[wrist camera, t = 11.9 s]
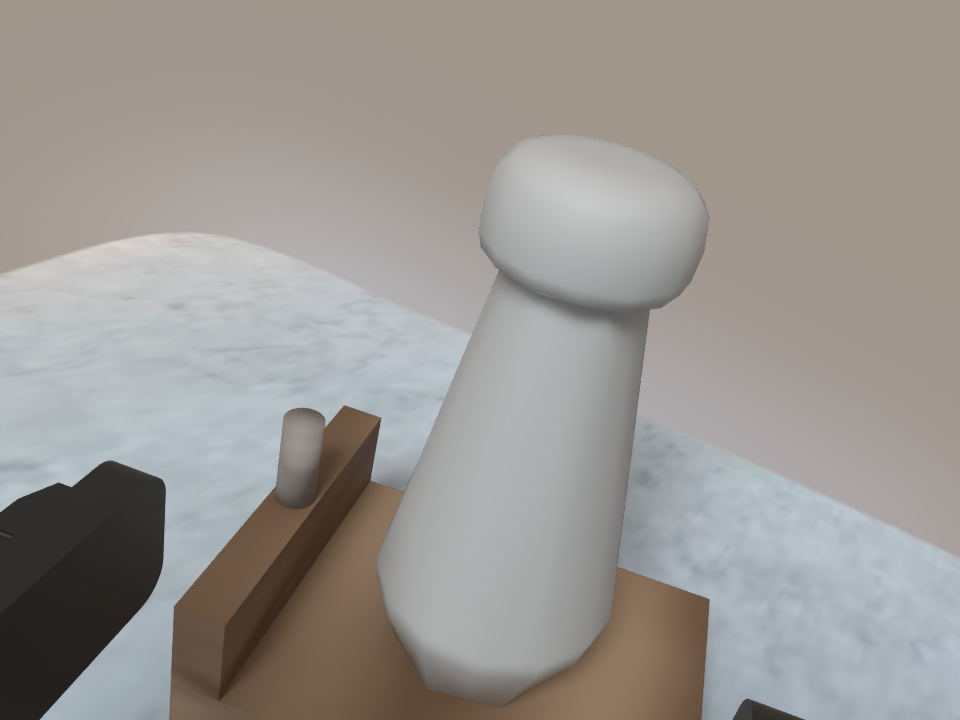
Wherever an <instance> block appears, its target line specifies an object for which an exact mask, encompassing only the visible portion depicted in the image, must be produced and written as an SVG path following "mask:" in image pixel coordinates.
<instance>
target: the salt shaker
mask: <svg viewBox="0 0 960 720" xmlns="http://www.w3.org/2000/svg"><path fill="white" fill-rule="evenodd" d="M708 225H709V214H708V211H707V208H706V204H705V202H704V200H703V198H702V196H701V194H700V193H699V191H698V189H697V187H696V185H695V184H694V182H693V181H692V180H691V179H689V178H688V177H687V176H685V175H684V174H683V173H682V172H680V171H679V170H678V169H676V168H675V167H673V166H671V165H669V164H667V163H665V162H663V161H661V160H658V159H656V158H654V157H652V156H650V155H648V154H646V153H643V152H641V151H639V150H637V149H634V148H630V147H627V146H623V145H620V144H617V143H613V142H610V141H605V140H599V139H595V138H590V137H584V136H554V135H541V136H537V137H534V138H530V139H526V140H522V141H521V142H519V143H518V144H516V145H515V146H513V147H512V148H510V149H509V150H508V151H506V152H504V153H503V155H502V157H501V159H500V161H499V163H498V166H497V168H496V170H495V173H494V175H493V178H492V180H491V183H490V185H489V188H488V190H487V193H486V195H485V198H484V202H483V208H482V214H481V220H480V226H479V236H480V244H481V248H482V249H483V251H484V252H485V253H486V255H487V256H488V257H489V259H490V260H491V262H492V263H493V264H494V266H495V267H496V268H498V269H499V272H498V274H497V276H496V279H495V281H494V283H493V286H492V289H491V291H490V293H489V295H488V298H487V300H486V302H485V305H484V307H483V310H482V312H481V314H480V317H479V319H478V321H477V324H476V326H475V328H474V331H473V333H472V336H471V338H470V340H469V343H468V345H467V347H466V350H465V352H464V354H463V357H462V359H461V362H460V364H459V366H458V369H457V371H456V373H455V376H454V378H453V381H452V383H451V385H450V388H449V390H448V392H447V395H446V397H445V399H444V402H443V404H442V407H441V409H440V411H439V414H438V416H437V418H436V421H435V423H434V426H433V428H432V430H431V433H430V435H429V437H428V440H427V442H426V444H425V447H424V449H423V452H422V454H421V456H420V459H419V461H418V463H417V465H416V467H415V470H414V472H413V474H412V476H411V478H410V481H409V483H408V485H407V487H406V489H405V492H404V494H403V496H402V498H401V500H400V503H399V505H398V507H397V509H396V511H395V514H394V516H393V518H392V520H391V523H390V525H389V527H388V530H387V533H386V536H385V538H384V541H383V544H382V547H381V550H380V552H379V555H378V558H377V580H378V583H379V587H380V590H381V594H382V597H383V601H384V604H385V608H386V611H387V615H388V617H389V619H390V621H391V623H392V627H393V630H394V633H395V635H396V637H397V638H398V640H399V642H400V644H401V645H402V647H403V649H404V650H405V652H406V654H407V655H408V657H409V659H410V661H411V662H412V664H413V666H414V667H415V669H416V671H417V672H418V674H419V676H420V678H421V679H422V681H423V683H424V684H425V686H426V688H427V689H428V690H432V691H436V692H440V693H444V694H447V695H451V696H455V697H459V698H463V699H467V700H471V701H475V702H479V703H483V704H487V705H490V706H494V707H498V708H502V707H503V706H505V705H506V704H507V703H509V702H510V701H512V700H513V699H515V698H516V697H518V696H519V695H520V694H522V693H523V692H525V691H526V690H528V689H530V688H532V687H534V686H535V685H537V684H539V683H541V682H543V681H545V680H546V679H548V678H550V677H552V676H554V675H556V674H557V673H559V672H561V671H563V670H565V669H567V668H568V667H570V666H572V665H574V664H575V663H576V662H577V661H578V660H579V659H580V657H581V656H582V655H583V654H584V653H585V651H586V650H587V649H588V648H589V647H590V645H591V644H592V643H593V642H594V641H595V639H596V638H597V637H598V636H599V635H600V633H601V632H602V630H603V629H604V627H605V626H606V625H607V623H608V622H609V620H610V618H611V610H612V602H613V594H614V586H615V579H616V571H617V563H618V555H619V547H620V539H621V532H622V524H623V516H624V508H625V500H626V492H627V485H628V477H629V469H630V461H631V453H632V445H633V438H634V430H635V422H636V414H637V406H638V398H639V391H640V383H641V375H642V367H643V359H644V351H645V344H646V343H645V342H646V336H647V327H648V320H649V312H650V309H657V308H662V307H663V306H665V305H666V304H668V303H669V302H670V301H672V300H674V299H675V298H677V297H678V296H679V295H680V294H681V293H682V292H683V291H684V290H685V288H686V287H687V286H688V285H689V284H690V282H691V280H692V278H693V276H694V274H695V271H696V269H697V267H698V265H699V262H700V260H701V258H702V256H703V253H704V249H705V243H706V237H707V231H708Z"/></svg>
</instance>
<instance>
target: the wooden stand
mask: <svg viewBox="0 0 960 720" xmlns="http://www.w3.org/2000/svg"><path fill="white" fill-rule="evenodd" d="M380 422H381V418H380V417H377V416H374V415H371V414H368V413H365V412H362V411H360V410H357V409H354V408H351V407H348V406H345V405H344V406H343V407H342V409H341V410H340V411H339V412H338V413H337V415H336V416H335V417H334V418H333V419H332V420H331V422H330V423H329V424H328V425H327V426H326V428H325V418H324V416H323V415H322V414H321V413H319V412H317V411H315V410H312V409H308V408H296V409H292V410H290V411H288V412H287V413H286V414H285V415H284V418H283V427H282V437H281V446H280V455H279V464H278V473H277V482H276V487H275V488H274V489H273V490H272V491H271V493H270V494H269V495H268V496H267V497H266V499H265V500H264V501H263V502H262V503H261V504H260V506H259V507H258V508H257V509H256V510H255V512H254V513H253V514H252V515H251V516H250V517H249V519H248V520H247V521H246V522H245V523H244V525H243V526H242V527H241V528H240V529H239V530H238V532H237V533H236V534H235V535H234V536H233V538H232V539H231V540H230V541H229V542H228V543H227V545H226V546H225V547H224V548H223V549H222V551H221V552H220V553H219V554H218V555H217V556H216V558H215V559H214V560H213V561H212V562H211V564H210V565H209V566H208V567H207V568H206V569H205V571H204V572H203V573H202V574H201V575H200V577H199V578H198V579H197V580H196V581H195V582H194V584H193V585H192V586H191V587H190V588H189V590H188V591H187V592H186V593H185V594H184V595H183V597H182V598H181V599H180V600H179V601H178V603H177V604H176V605H175V606H174V620H173V644H172V668H171V692H170V716H169V720H701V715H702V701H703V686H704V672H705V658H706V644H707V630H708V615H709V601H710V599H707V598H704V597H702V596H699V595H696V594H693V593H690V592H687V591H684V590H682V589H679V588H676V587H673V586H670V585H667V584H664V583H661V582H659V581H656V580H653V579H650V578H647V577H644V576H641V575H639V574H636V573H633V572H630V571H627V570H624V569H621V568H619V567H617V571H616V579H615V586H614V594H613V602H612V610H611V618H610V620H609V622H608V623H607V625H606V626H605V627H604V629H603V630H602V632H601V633H600V635H599V636H598V637H597V638H596V639H595V641H594V642H593V643H592V644H591V645H590V647H589V648H588V649H587V650H586V651H585V653H584V654H583V655H582V656H581V657H580V659H579V660H578V661H577V662H576V663H575V664H574V665H572V666H570V667H568V668H567V669H565V670H563V671H561V672H559V673H557V674H556V675H554V676H552V677H550V678H548V679H546V680H545V681H543V682H541V683H539V684H537V685H535V686H534V687H532V688H530V689H528V690H526V691H525V692H523V693H522V694H520V695H519V696H518V697H516V698H515V699H513V700H512V701H510V702H509V703H507V704H506V705H505V706H503V707H502V708H498V707H494V706H490V705H487V704H483V703H479V702H475V701H471V700H467V699H463V698H459V697H455V696H451V695H447V694H444V693H440V692H436V691H432V690H428V689H427V688H426V686H425V684H424V683H423V681H422V679H421V678H420V676H419V674H418V672H417V671H416V669H415V667H414V666H413V664H412V662H411V661H410V659H409V657H408V655H407V654H406V652H405V650H404V649H403V647H402V645H401V644H400V642H399V640H398V638H397V637H396V635H395V633H394V630H393V627H392V623H391V621H390V619H389V617H388V615H387V611H386V608H385V604H384V601H383V597H382V594H381V590H380V587H379V583H378V580H377V558H378V555H379V552H380V550H381V547H382V544H383V541H384V538H385V536H386V533H387V530H388V527H389V525H390V523H391V520H392V518H393V516H394V514H395V511H396V509H397V507H398V505H399V503H400V500H401V498H402V496H403V494H404V492H401V491H398V490H395V489H392V488H389V487H386V486H384V485H381V484H378V483H375V482H372V481H370V479H371V473H372V468H373V462H374V456H375V451H376V445H377V439H378V434H379V428H380ZM324 428H325V429H324Z"/></svg>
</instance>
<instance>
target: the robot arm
mask: <svg viewBox="0 0 960 720" xmlns="http://www.w3.org/2000/svg"><path fill="white" fill-rule="evenodd" d="M165 498H166V488H165V484H164V482H163V480H162V479H160V478H158V477H155V476H153V475H150V474H147V473H144V472H142V471H139V470H136V469H134V468H131V467H128V466H126V465H123V464H120V463H117V462H115V461H106V462H104V463H102V464H100V465H99V466H97V467H96V468H95V469H94V470H92V471H91V472H90V473H89V474H88V475H86V476H85V477H84V478H83V479H81V480H80V481H79V482H78V483H77V484H75V485H74V486H73V487H69V486H67V485H64V484H61V483H57V484H54V485H52V486H49V487H47V488H44V489H42V490H39V491H37V492H34V493H32V494H29V495H27V496H24V497H22V498H19V499H17V500H16V501H15V502H13V503H12V504H11V505H9V506H8V507H7V508H5V509H4V510H3V511H2V512H0V720H40V719H41V718H42V716H43V715H44V714H45V713H46V712H47V711H48V710H49V709H50V708H51V707H52V705H53V704H54V703H55V702H56V701H57V700H58V699H59V698H60V697H61V695H62V694H63V693H64V692H65V691H66V690H67V689H68V688H69V687H70V686H71V684H72V683H73V682H74V681H75V680H76V679H77V678H78V677H79V676H80V675H81V673H82V672H83V671H84V670H85V669H86V668H87V667H88V666H89V665H90V664H91V662H92V661H93V660H94V659H95V658H96V657H97V656H98V655H99V654H100V653H101V651H102V650H103V649H104V648H105V647H106V646H107V645H108V644H109V643H110V642H111V640H112V639H113V638H114V637H115V636H116V635H117V634H118V633H119V632H120V631H121V629H122V628H123V627H124V626H125V625H126V624H127V623H128V622H129V621H130V620H131V618H132V617H133V616H134V615H135V614H136V613H137V612H138V611H139V610H140V609H141V607H142V606H143V605H144V604H145V603H146V601H147V600H148V598H149V597H150V595H151V593H152V592H153V590H154V588H155V586H156V584H157V581H158V579H159V576H160V573H161V570H162V565H163V552H164V525H165ZM733 720H804V719H801V718H799V717H796V716H793V715H791V714H788V713H785V712H783V711H780V710H777V709H774V708H772V707H769V706H766V705H764V704H761V703H758V702H756V701H753V700H750V699H745V700H744V701H743V702H742V704H741V705H740V707H739V709H738V711H737V713H736V714H735V716H734V718H733Z"/></svg>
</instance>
